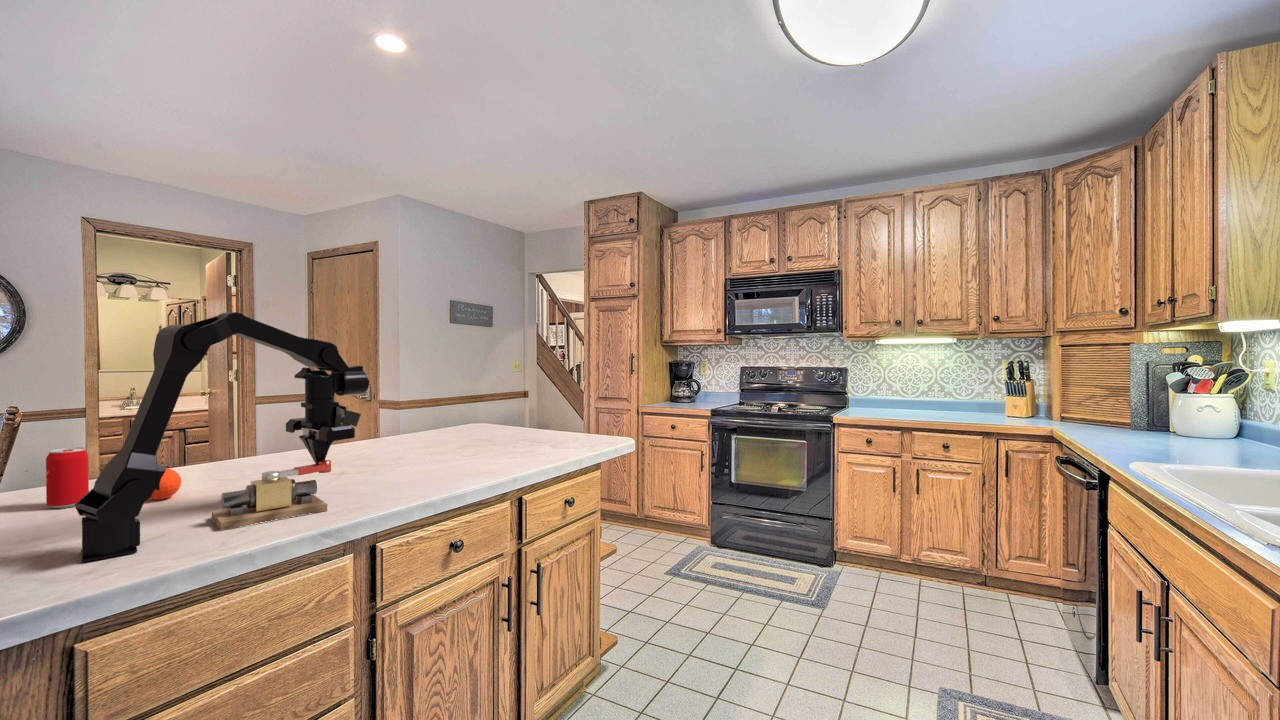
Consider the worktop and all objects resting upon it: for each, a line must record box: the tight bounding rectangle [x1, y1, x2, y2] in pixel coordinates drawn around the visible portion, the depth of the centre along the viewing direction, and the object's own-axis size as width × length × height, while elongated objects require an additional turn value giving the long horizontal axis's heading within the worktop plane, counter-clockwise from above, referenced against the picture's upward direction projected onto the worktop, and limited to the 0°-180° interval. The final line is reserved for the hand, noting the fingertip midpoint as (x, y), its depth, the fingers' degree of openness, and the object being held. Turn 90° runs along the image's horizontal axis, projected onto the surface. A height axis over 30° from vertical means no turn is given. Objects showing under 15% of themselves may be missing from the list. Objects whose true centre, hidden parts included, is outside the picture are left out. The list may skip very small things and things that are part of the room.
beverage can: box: [45, 446, 90, 509], centre depth 115 cm, size 6×6×12 cm
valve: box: [220, 476, 318, 517], centre depth 111 cm, size 16×5×6 cm, turn 136°
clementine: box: [149, 467, 182, 501], centre depth 120 cm, size 8×7×7 cm
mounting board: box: [211, 494, 328, 531], centre depth 111 cm, size 18×10×2 cm, turn 136°
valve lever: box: [261, 459, 332, 481], centre depth 116 cm, size 14×3×2 cm, turn 150°
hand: (319, 466), depth 122 cm, fingers closed
